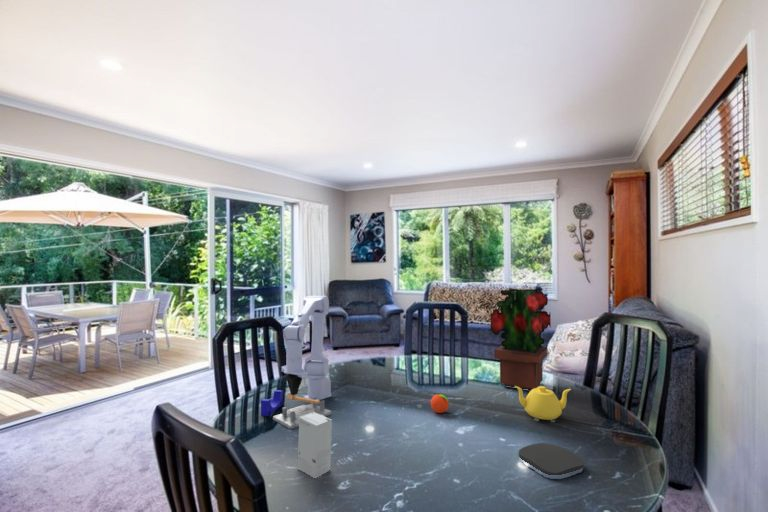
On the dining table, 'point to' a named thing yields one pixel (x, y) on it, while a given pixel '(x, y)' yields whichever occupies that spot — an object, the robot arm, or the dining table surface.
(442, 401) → the clementine
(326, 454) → the skincare box
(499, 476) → the dining table surface
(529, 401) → the teapot
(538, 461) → the media streaming box
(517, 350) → the potted plant
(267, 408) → the blue notched block
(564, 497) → the dining table surface
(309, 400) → the light brown wooden bar
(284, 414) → the mount
